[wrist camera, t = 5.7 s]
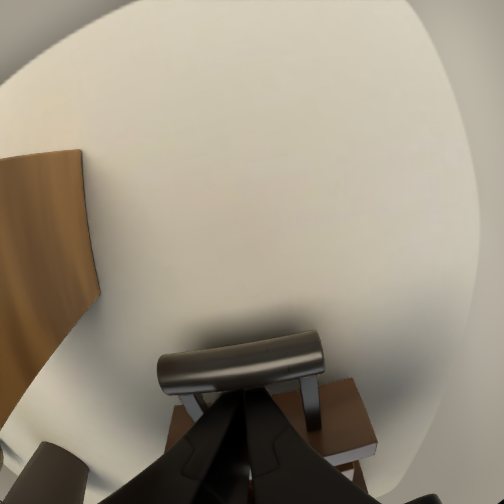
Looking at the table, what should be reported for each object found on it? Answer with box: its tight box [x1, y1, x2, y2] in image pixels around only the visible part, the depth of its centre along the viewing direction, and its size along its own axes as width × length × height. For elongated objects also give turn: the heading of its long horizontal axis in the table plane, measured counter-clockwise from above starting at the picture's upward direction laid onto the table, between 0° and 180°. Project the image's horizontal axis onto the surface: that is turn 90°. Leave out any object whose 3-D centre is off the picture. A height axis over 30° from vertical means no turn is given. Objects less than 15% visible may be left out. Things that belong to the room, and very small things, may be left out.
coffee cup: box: [0, 442, 89, 504], centre depth 12 cm, size 8×8×10 cm
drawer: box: [157, 330, 378, 504], centre depth 11 cm, size 16×8×4 cm, turn 12°
